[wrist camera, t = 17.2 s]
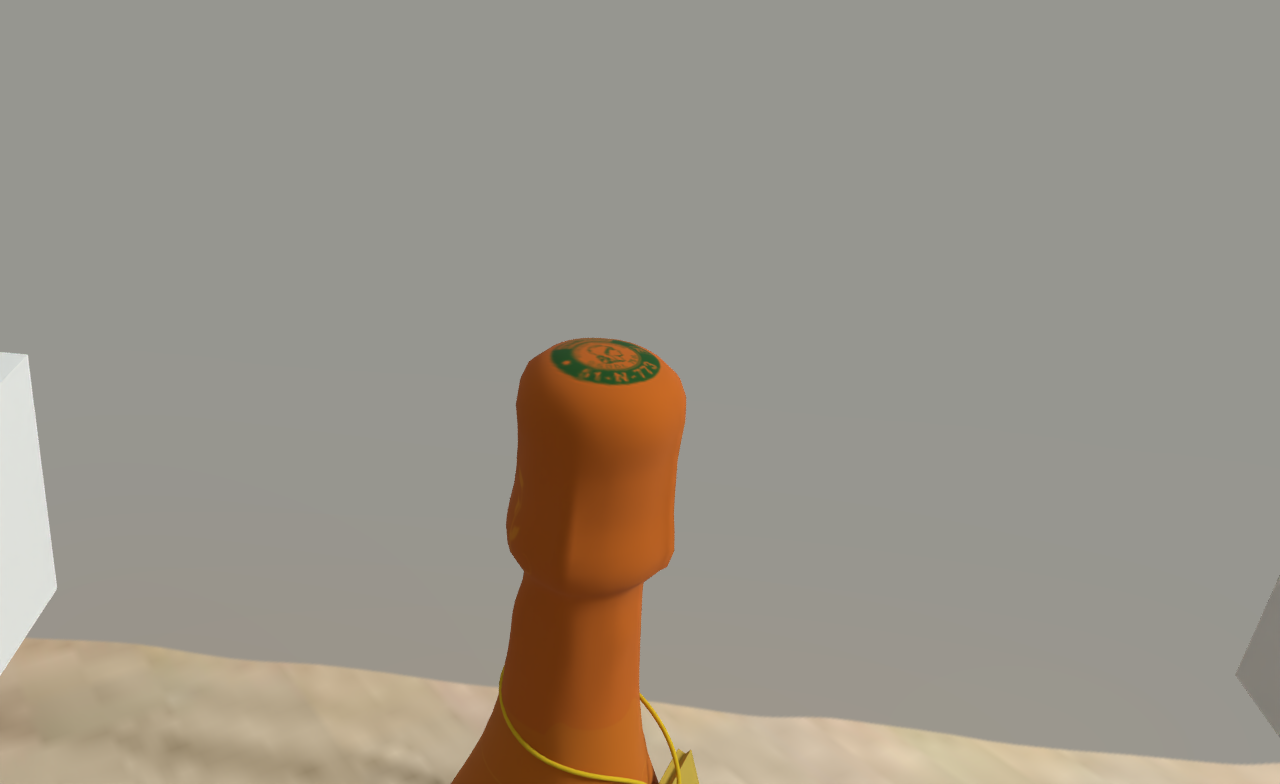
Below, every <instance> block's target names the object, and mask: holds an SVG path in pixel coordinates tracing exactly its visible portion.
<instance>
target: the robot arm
mask: <svg viewBox="0 0 1280 784" xmlns="http://www.w3.org/2000/svg"><path fill="white" fill-rule="evenodd" d="M56 589H57V584H56V576H55V568H54V560H53V553H52V544H51V537H50V529H49V520H48V513H47V505H46V497H45V489H44V481H43V473H42V465H41V457H40V449H39V441H38V433H37V425H36V417H35V409H34V402H33V393H32V386H31V378H30V370H29V362H28V355H27V354H15V353H4V352H0V675H1V674H2V672H3V671H4V669H5V667H6V666H7V664H8V663H9V661H10V660H11V658H12V657H13V655H14V654H15V652H16V651H17V649H18V648H19V646H20V645H21V643H22V641H23V640H24V638H25V637H26V635H27V634H28V632H29V630H30V629H31V627H32V626H33V625H34V623H35V622H36V620H37V618H38V617H39V615H40V614H41V612H42V611H43V609H44V607H45V606H46V604H47V603H48V602H49V600H50V598H51V597H52V595H53V594H54V592H55V591H56ZM1236 676H1237V678H1238V679H1239V681H1240V682H1241V684H1242V685H1243V687H1244V688H1245V689H1246V691H1247V692H1248V694H1249V695H1250V696H1251V698H1252V699H1253V701H1254V702H1255V703H1256V705H1257V706H1258V707H1259V709H1260V710H1261V712H1262V713H1263V715H1264V716H1265V717H1266V719H1267V720H1268V722H1269V723H1270V725H1271V726H1272V727H1273V729H1274V730H1275V732H1276V733H1277V734H1278V736H1279V737H1280V576H1279V578H1278V580H1277V583H1276V585H1275V587H1274V589H1273V591H1272V594H1271V596H1270V598H1269V600H1268V603H1267V605H1266V607H1265V609H1264V612H1263V614H1262V616H1261V618H1260V621H1259V623H1258V625H1257V627H1256V630H1255V632H1254V634H1253V636H1252V638H1251V641H1250V643H1249V645H1248V647H1247V650H1246V652H1245V654H1244V657H1243V659H1242V661H1241V663H1240V665H1239V667H1238V670H1237V672H1236Z"/></svg>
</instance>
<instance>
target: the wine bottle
mask: <svg viewBox="0 0 1280 784" xmlns="http://www.w3.org/2000/svg"><path fill="white" fill-rule="evenodd" d="M516 410H517V422H518V450H517V467H516V474H515V481H514V482H515V483H514V486H513V490H512V494H511V498H510V502H509V508H508V513H507V521H506V529H507V540H508V545H509V549H510V552H511V553H512V555H513V556H514V558H515V559H516V560H517V562H518V563H519V565H520V566H521V568H522V569H523V570H524V575H523V580H522V583H521V586H520V589H519V591H518V594H517V597H516V600H515V604H514V609H513V614H512V623H511V632H510V640H509V647H508V652H507V657H506V661H505V665H504V667H503V670H502V673H501V677H500V681H499V695H498V698H497V701H496V704H495V707H494V709H493V712H492V715H491V717H490V719H489V721H488V723H487V725H486V728H485V730H484V732H483V734H482V736H481V738H480V740H479V741H478V743H477V745H476V746H475V748H474V749H473V751H472V753H471V754H470V756H469V757H468V759H467V760H466V762H465V764H464V765H463V767H462V768H461V770H460V771H459V772H458V774H457V775H456V777H455V778H454V780H453V781H452V783H451V784H699V781H698V777H697V773H696V768H695V764H694V760H693V755H692V751H691V750H690V751H689V752H687V753H686V754H685V753H684V752H682V751H681V750H680V749H678V750H677V752H676V751H675V748H674V746H673V743H672V741H671V738H670V736H669V734H668V732H667V730H666V728H665V726H664V725H663V723H662V721H661V720H660V718H659V717H658V715H657V714H656V712H655V711H654V709H653V708H652V707H651V705H650V704H649V703H648V702H647V700H646V699H645V698H644V697H643V696H642V695H641V694H640V693H639V661H640V634H641V610H642V590H643V583H644V582H645V581H646V580H647V579H649V578H650V577H652V576H653V575H654V574H656V573H657V572H658V571H660V570H662V569H664V568H666V567H667V566H668V563H669V561H670V559H671V557H672V554H673V552H674V499H675V486H676V473H677V461H678V455H679V449H680V444H681V439H682V433H683V429H684V424H685V414H686V395H685V392H684V389H683V386H682V383H681V380H680V378H679V377H678V375H677V374H676V373H675V372H674V371H673V370H672V369H671V368H670V367H669V366H668V365H667V364H666V363H665V362H664V361H663V360H662V359H660V358H659V357H658V356H657V355H655V354H654V353H652V352H651V351H649V350H647V349H645V348H643V347H641V346H638V345H635V344H633V343H630V342H626V341H621V340H615V339H604V338H581V339H573V340H568V341H565V342H561V343H559V344H556V345H554V346H552V347H551V348H549V349H547V350H546V351H544V352H542V353H541V354H539V355H538V356H536V357H534V358H533V359H532V360H531V361H529V363H528V365H527V367H526V369H525V371H524V372H523V374H522V376H521V379H520V385H519V390H518V396H517V401H516ZM640 700H641V701H642V703H643V704H644V705H645V706H646V708H647V709H648V710H649V712H650V713H651V714H652V716H653V717H654V719H655V720H656V722H657V723H658V725H659V727H660V728H661V730H662V732H663V734H664V736H665V738H666V741H667V743H668V745H669V748H670V751H671V754H672V757H673V759H672V761H671V762H670V764H669V766H668V768H667V770H666V771H665V773H664V775H663V777H662V779H661V780H660V782H659V783H658V780H657V777H656V775H655V772H654V769H653V766H652V763H651V761H650V758H649V755H648V752H647V747H646V742H645V737H644V734H643V729H642V720H641V709H640Z"/></svg>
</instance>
